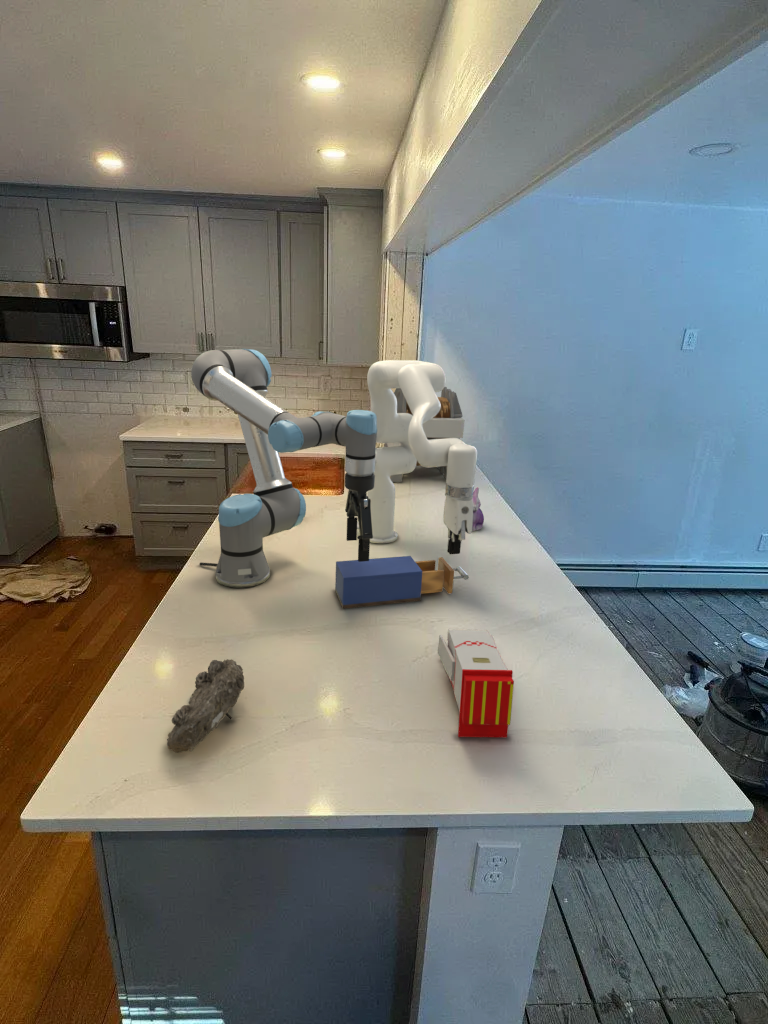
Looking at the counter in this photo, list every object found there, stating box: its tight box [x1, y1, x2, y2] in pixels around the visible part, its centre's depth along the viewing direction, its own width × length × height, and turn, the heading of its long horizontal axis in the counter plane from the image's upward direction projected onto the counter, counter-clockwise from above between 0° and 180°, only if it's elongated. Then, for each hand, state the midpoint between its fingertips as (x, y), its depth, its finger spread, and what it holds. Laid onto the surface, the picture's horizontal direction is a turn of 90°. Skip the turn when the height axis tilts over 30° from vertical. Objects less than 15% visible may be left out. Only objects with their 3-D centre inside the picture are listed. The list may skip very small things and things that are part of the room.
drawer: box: [415, 556, 470, 595], centre depth 158 cm, size 26×9×7 cm, turn 106°
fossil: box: [166, 658, 245, 754], centre depth 106 cm, size 22×10×15 cm
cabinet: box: [334, 555, 422, 610], centre depth 155 cm, size 22×10×9 cm, turn 106°
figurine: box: [472, 486, 485, 532], centre depth 206 cm, size 9×10×15 cm
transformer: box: [383, 386, 465, 483], centre depth 268 cm, size 34×33×41 cm
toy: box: [437, 628, 515, 738], centre depth 117 cm, size 12×13×30 cm
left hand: (357, 550), depth 150 cm, fingers open, 13 cm apart
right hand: (453, 552), depth 158 cm, fingers closed
